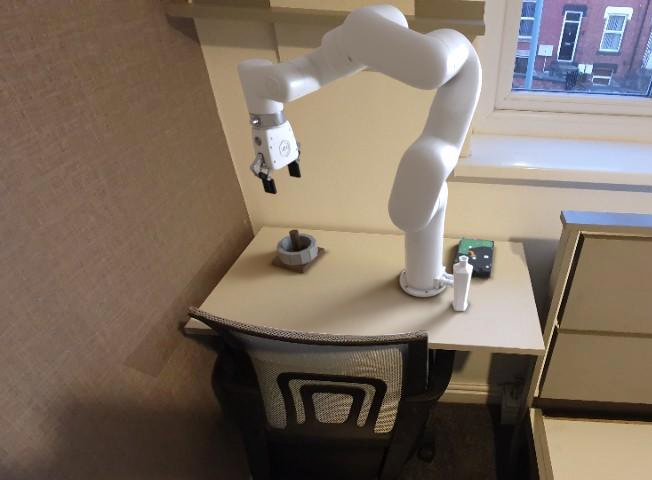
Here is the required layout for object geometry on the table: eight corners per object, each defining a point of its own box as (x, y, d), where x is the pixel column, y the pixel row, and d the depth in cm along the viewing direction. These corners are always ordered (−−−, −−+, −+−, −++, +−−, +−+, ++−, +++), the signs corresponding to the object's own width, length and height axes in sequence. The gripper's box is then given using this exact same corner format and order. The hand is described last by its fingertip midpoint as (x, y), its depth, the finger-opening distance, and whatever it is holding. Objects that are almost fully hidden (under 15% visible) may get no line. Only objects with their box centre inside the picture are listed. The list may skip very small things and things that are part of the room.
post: (325, 252, 114) (320, 226, 109) (303, 273, 106) (297, 246, 101) (295, 244, 116) (289, 218, 111) (272, 264, 109) (265, 237, 103)
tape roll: (324, 248, 113) (322, 238, 111) (303, 269, 105) (300, 258, 103) (294, 240, 115) (292, 230, 113) (271, 260, 108) (268, 249, 106)
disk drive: (490, 279, 107) (493, 247, 119) (491, 271, 106) (494, 240, 118) (453, 274, 108) (459, 243, 120) (453, 267, 107) (460, 236, 119)
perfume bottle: (471, 311, 97) (476, 263, 89) (454, 313, 96) (457, 265, 88) (466, 298, 101) (470, 251, 92) (449, 300, 100) (452, 253, 91)
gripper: (255, 132, 84) (273, 202, 94) (304, 109, 97) (316, 173, 107) (226, 127, 86) (247, 197, 96) (279, 106, 99) (292, 169, 109)
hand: (283, 184), depth 101 cm, fingers open, 9 cm apart
